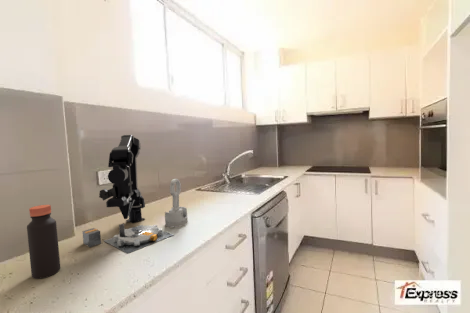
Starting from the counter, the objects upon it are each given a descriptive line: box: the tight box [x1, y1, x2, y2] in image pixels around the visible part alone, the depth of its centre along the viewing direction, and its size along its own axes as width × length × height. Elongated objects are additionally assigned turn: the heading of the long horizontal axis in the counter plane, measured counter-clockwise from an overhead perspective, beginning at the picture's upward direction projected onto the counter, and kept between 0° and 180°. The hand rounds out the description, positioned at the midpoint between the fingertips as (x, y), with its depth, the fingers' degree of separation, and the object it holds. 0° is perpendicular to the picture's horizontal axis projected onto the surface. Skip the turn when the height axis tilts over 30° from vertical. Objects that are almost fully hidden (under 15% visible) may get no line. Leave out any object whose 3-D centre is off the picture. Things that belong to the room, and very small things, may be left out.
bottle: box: [26, 204, 61, 280], centre depth 71 cm, size 7×7×20 cm
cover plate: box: [103, 230, 174, 254], centre depth 96 cm, size 19×19×1 cm
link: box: [82, 227, 102, 248], centre depth 93 cm, size 6×4×5 cm, turn 51°
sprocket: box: [113, 223, 163, 246], centre depth 96 cm, size 18×18×6 cm
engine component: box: [164, 178, 189, 228], centre depth 112 cm, size 11×20×10 cm
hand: (125, 218), depth 97 cm, fingers closed
